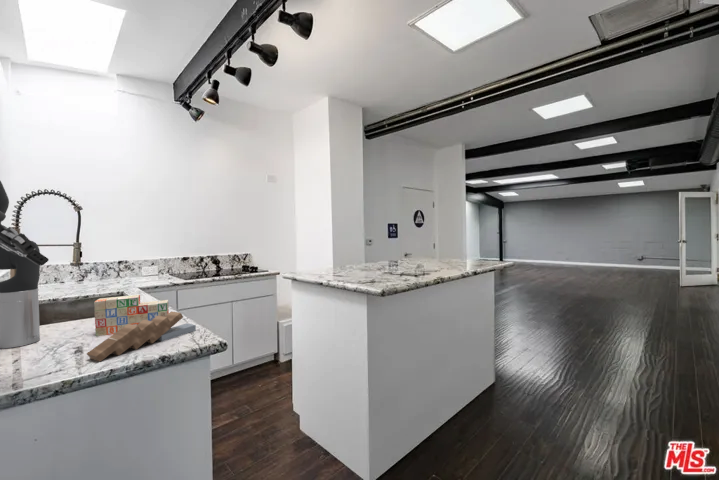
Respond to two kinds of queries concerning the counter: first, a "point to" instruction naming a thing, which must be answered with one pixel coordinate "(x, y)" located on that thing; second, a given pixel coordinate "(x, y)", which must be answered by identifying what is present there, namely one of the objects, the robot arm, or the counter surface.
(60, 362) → the counter surface
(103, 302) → the stack of blocks
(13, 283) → the robot arm
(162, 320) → the domino
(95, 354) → the domino
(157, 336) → the domino
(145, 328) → the domino
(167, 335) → the domino
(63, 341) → the counter surface
